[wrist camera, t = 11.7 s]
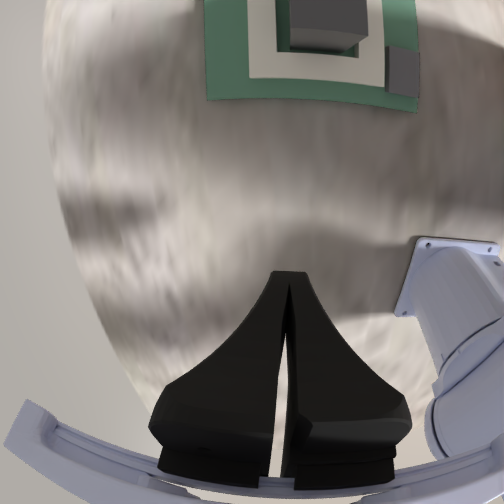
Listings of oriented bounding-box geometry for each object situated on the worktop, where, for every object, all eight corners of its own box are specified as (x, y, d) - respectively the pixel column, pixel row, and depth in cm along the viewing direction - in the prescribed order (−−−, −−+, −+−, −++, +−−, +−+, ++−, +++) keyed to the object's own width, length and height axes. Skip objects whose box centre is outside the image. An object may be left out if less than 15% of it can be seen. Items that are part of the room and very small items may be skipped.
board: (405, -29, 9) (416, -38, 7) (412, 112, 15) (424, 115, 13) (207, -42, 10) (198, -53, 9) (210, 100, 16) (201, 101, 14)
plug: (338, -16, 10) (359, -56, 5) (341, 53, 13) (368, 36, 8) (287, -20, 11) (286, -64, 6) (289, 49, 13) (291, 27, 8)
